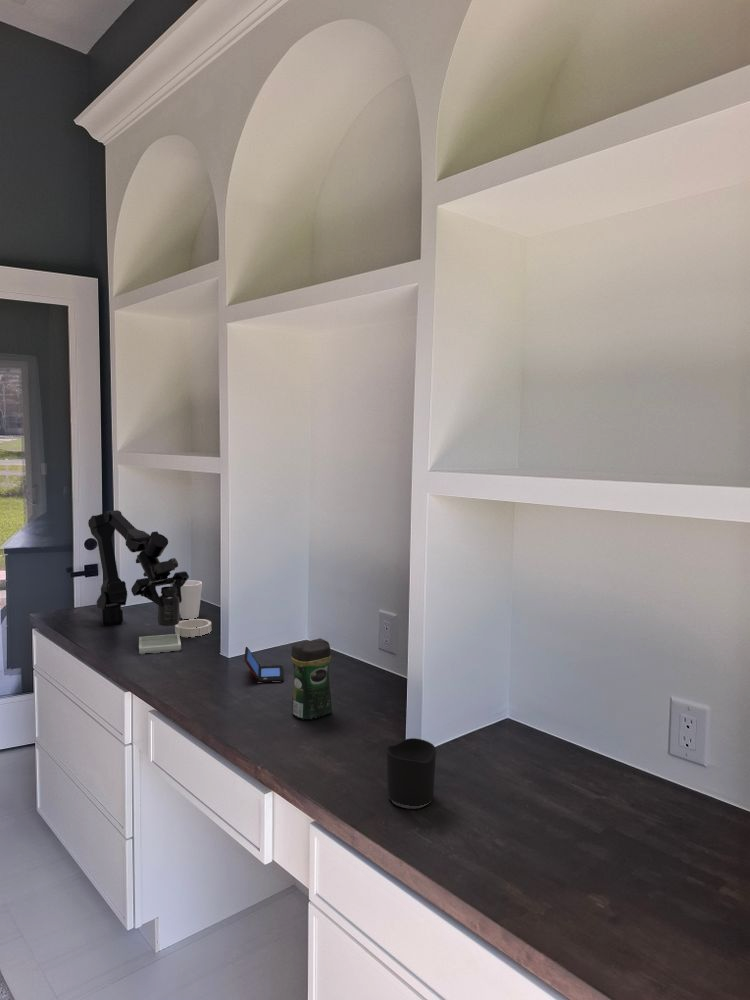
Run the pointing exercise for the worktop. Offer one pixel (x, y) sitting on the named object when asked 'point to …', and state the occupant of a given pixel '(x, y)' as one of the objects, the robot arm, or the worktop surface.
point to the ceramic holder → (193, 627)
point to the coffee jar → (311, 679)
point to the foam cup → (190, 599)
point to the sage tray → (159, 643)
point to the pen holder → (411, 772)
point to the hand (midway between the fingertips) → (171, 604)
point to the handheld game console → (263, 669)
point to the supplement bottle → (169, 607)
